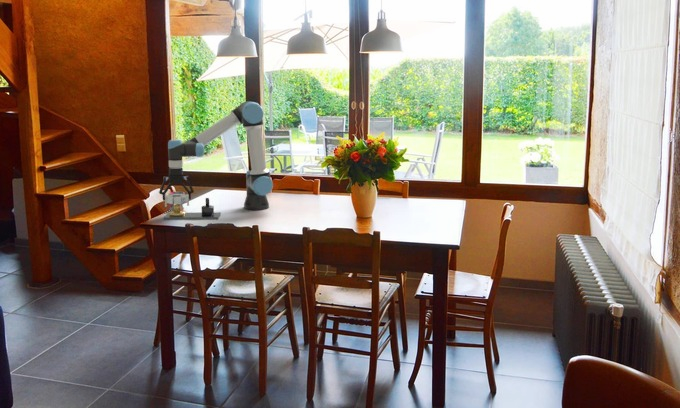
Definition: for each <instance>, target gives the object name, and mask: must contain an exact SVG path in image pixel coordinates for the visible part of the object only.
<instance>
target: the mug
mask: <svg viewBox="0 0 680 408" xmlns="http://www.w3.org/2000/svg"><path fill="white" fill-rule="evenodd" d="M171 194H184V195H185V192H184V191H170V192H168V193H167V195H171ZM183 204H184V203H183ZM183 204H180V206H181V210H183V211H185V207H184V205H183ZM169 211H174V204H170V206H169Z"/></svg>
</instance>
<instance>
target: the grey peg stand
mask: <svg viewBox="0 0 680 408" xmlns="http://www.w3.org/2000/svg"><path fill="white" fill-rule="evenodd" d="M214 209H215V206H214V205H210V197H205V205H202V206H201V212H187V211H186V210H181V206H180V204H174V211H171V210H169V212H167V213H166V214H165V216H164V217H163V220H171V221H172V220H219V219H220V216H221V214H222V213H221V212H219V211H218V212H217V211H216V212H215V210H214Z"/></svg>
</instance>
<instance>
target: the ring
mask: <svg viewBox="0 0 680 408" xmlns="http://www.w3.org/2000/svg"><path fill="white" fill-rule="evenodd" d="M166 201H167V204H169V205H171V204H187V202H188V198H187V194H185V193H184V194H171V195H169V194H166Z"/></svg>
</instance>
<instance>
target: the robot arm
mask: <svg viewBox="0 0 680 408" xmlns="http://www.w3.org/2000/svg"><path fill="white" fill-rule="evenodd" d="M263 109H264V108H263V107H262V106H261V105H260V104H259V103H258V102H255V101H249V100H247V101H244V102H241V104H239V105H237V106H236V107H235V108H234V109H232V110H231V111H230V113H229V114H227V116H224V117H223V118H221V120H218V121H217V122H215V123H213V124H212V125H211V126H209V127H207V128H206V129H205V130H203V131H202V132H200V133H198V134H197V135H196V136H194V137H193V138H190V139H188V140H186V141H185V142H184V143H183V140H181V139H170V140H168V142H167V150H168V151H167V152H168V153H167V154H168V167H169V168H168V176H163V180H162V181H163V182H162V184H161V186H160V190H159V191H158V194H159V195H162V200H163V202H164V207H166V208H167V206H168V205H167V204H168V203H167V201H166V196H167V192H168V191H169V189H170V188H171V187H172V185H181V186H182V188H183V189H184V190H185V191H186V195H187V198H188V202H187V203H186V205H187V206H188V207H189V206H190V200H191V194H194V192H195V190H194V189H193V186H192V184H191V182H190V179H189V175H186V176H184V172H183V171H184V169H183V167H184V166H183V164H184V163H183V158H185V157H186V158H187V157H188V158H189V157H190V158H191V157H195V158H196V157H197V158H198V157H203V156H204V154H205V146H207V145H208V144H210V143H212V142H213V141H215V140H216V139H218V138H220V137H221V136H222V135H224V134H226V133H227V132H229V131H230V130H232V129H233V128H234V127H237V126H238V125H239V126H242V127H243V128H244V129H245V130H246V131H245V132H246V137H247V138H246V139H247V144H248V152H249V160H250V167H251V170H247V171H246V175H245V178H246V184H245V185H246V196H245V200H244V203H243V208H244V210H250V211H251V210H252V211H258V210H260V211H261V210H266V209H269V208H270V204H269V200H268V197H267V195H269V194H270V193H271V192H272V190H273V187H274V183H273V180H272V178H271V173H270V169H268V168H267V164H266V163H267V162H266V157H265V156H266V155H265V154H266V153H265V148H264V147H265V146H264V140H263V133H262V127H263V126H264V120H263V117H264V110H263ZM183 180H185V181H186V183H187V185H188V187H189V189H190V190H189V189H188V187H187V186H186V185H185V183H184V182H183ZM167 181H169V182H168V184H167V186H166V187H165V185H166V182H167ZM164 188H165V189H164Z"/></svg>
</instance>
